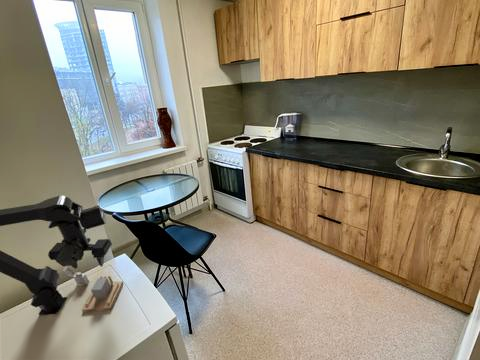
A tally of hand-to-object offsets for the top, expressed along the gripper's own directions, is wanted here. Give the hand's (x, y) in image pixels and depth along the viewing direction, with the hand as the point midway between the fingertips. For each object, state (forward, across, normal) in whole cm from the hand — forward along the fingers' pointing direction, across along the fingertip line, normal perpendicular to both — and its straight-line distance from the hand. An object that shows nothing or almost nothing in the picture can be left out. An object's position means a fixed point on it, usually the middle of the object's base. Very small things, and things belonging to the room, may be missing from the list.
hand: (89, 266), depth 90 cm
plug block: (+11, +3, -3) cm, 12 cm away
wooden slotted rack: (+12, +3, -4) cm, 13 cm away
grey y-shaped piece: (+12, -10, +4) cm, 16 cm away
